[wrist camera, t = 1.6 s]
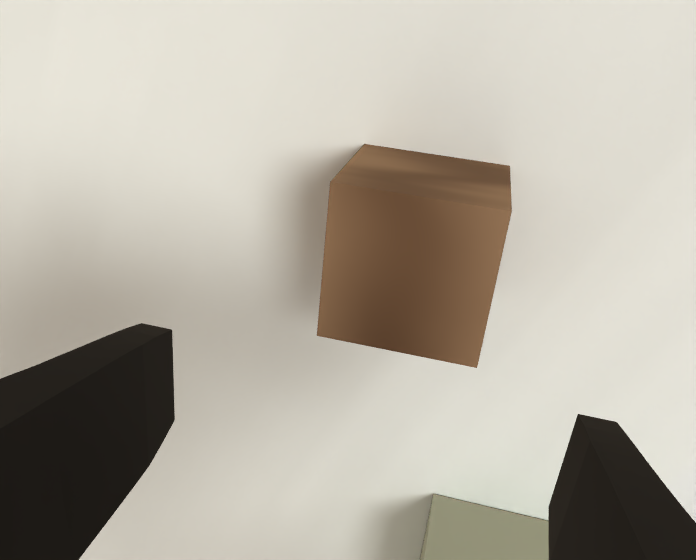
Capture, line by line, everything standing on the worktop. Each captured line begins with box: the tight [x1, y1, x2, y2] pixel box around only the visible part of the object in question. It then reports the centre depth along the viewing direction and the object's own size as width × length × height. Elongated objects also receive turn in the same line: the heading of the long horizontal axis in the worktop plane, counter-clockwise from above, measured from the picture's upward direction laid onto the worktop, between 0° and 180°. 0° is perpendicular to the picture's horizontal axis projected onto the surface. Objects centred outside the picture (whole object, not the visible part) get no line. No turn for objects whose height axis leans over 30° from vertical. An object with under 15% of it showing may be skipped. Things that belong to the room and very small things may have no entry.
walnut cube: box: [317, 144, 512, 368], centre depth 18 cm, size 4×4×4 cm
